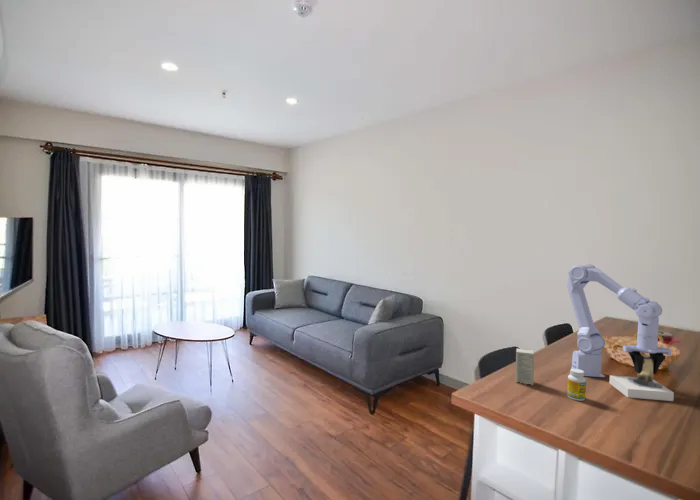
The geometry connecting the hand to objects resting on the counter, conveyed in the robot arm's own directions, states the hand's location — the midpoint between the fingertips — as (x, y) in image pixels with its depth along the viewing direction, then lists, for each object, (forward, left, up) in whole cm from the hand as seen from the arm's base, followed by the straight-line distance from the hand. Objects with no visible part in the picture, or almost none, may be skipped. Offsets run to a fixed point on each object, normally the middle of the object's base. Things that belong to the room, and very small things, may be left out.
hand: (645, 372), depth 131 cm
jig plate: (-2, -1, -7) cm, 7 cm away
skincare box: (-41, -1, -7) cm, 42 cm away
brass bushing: (0, 0, -2) cm, 2 cm away
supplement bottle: (-27, -11, -7) cm, 30 cm away
